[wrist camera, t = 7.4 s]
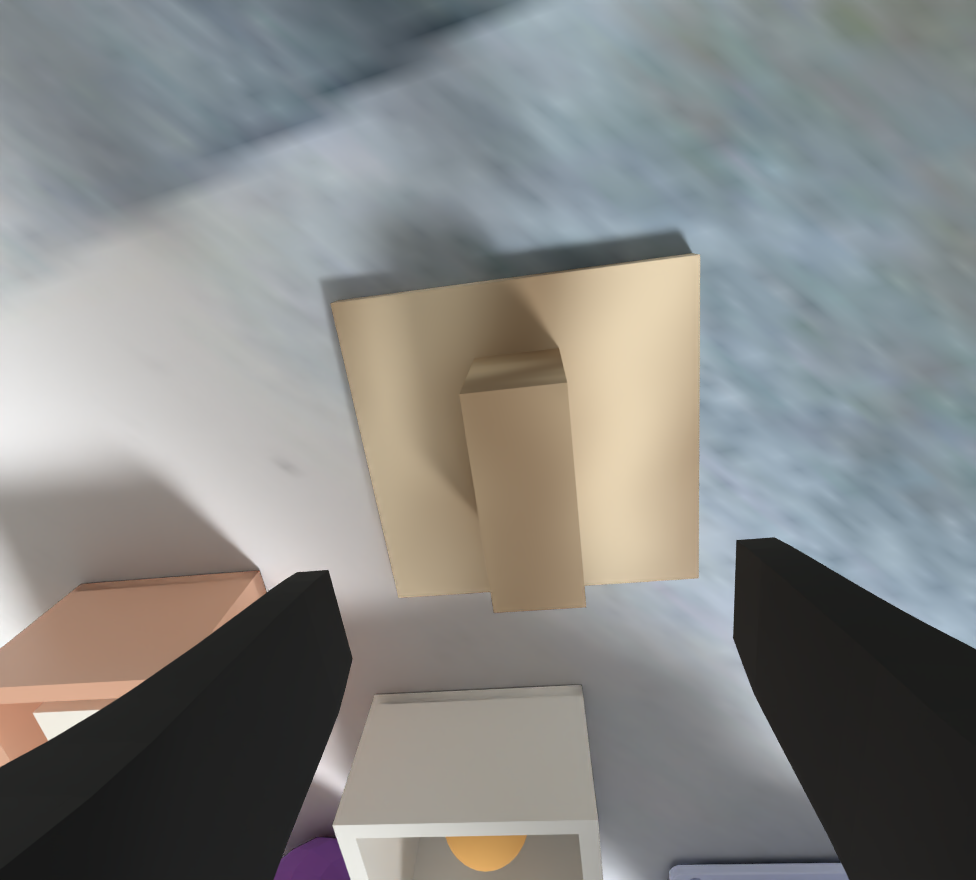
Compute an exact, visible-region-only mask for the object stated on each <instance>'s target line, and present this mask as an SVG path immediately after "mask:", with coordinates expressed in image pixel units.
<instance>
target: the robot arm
mask: <svg viewBox="0 0 976 880" xmlns="http://www.w3.org/2000/svg"><path fill="white" fill-rule="evenodd" d="M733 639H734V642H735V644H736V647H737V650H738V653H739V655H740V658H741V661H742V664H743V667H744V669H745V672H746V674H747V677H748V679H749V682H750V685H751V687H752V690H753V692H754V695H755V697H756V699H757V701H758V703H759V705H760V707H761V709H762V711H763V713H764V715H765V716H766V718H767V720H768V722H769V724H770V726H771V728H772V730H773V732H774V734H775V736H776V738H777V740H778V742H779V743H780V745H781V747H782V749H783V751H784V753H785V755H786V757H787V759H788V761H789V762H790V764H791V766H792V768H793V770H794V772H795V774H796V776H797V778H798V780H799V781H800V783H801V785H802V787H803V789H804V791H805V793H806V795H807V797H808V799H809V800H810V802H811V804H812V806H813V808H814V810H815V812H816V814H817V816H818V818H819V820H820V821H821V823H822V825H823V827H824V829H825V831H826V833H827V835H828V837H829V839H830V841H831V843H832V845H833V847H834V849H835V851H836V853H837V855H838V857H839V859H840V861H841V863H787V864H709V865H676V866H674V867H672V868H671V869H670V871H669V880H976V649H974V648H973V647H971V646H969V645H967V644H965V643H963V642H961V641H959V640H957V639H955V638H953V637H951V636H949V635H947V634H945V633H943V632H941V631H940V630H938V629H936V628H934V627H932V626H930V625H928V624H926V623H924V622H922V621H921V620H919V619H917V618H915V617H913V616H911V615H910V614H908V613H906V612H904V611H902V610H900V609H899V608H897V607H895V606H893V605H891V604H890V603H888V602H886V601H884V600H883V599H881V598H879V597H877V596H876V595H874V594H872V593H870V592H869V591H867V590H865V589H863V588H862V587H860V586H858V585H856V584H855V583H853V582H851V581H850V580H848V579H846V578H845V577H843V576H841V575H839V574H838V573H836V572H834V571H833V570H831V569H829V568H828V567H826V566H824V565H823V564H821V563H819V562H817V561H816V560H814V559H812V558H811V557H809V556H807V555H806V554H804V553H802V552H800V551H799V550H797V549H795V548H793V547H792V546H790V545H788V544H786V543H784V542H782V541H780V540H778V539H777V538H760V539H746V540H736V570H735V599H734V629H733ZM351 663H352V655H351V651H350V648H349V644H348V640H347V637H346V633H345V629H344V626H343V622H342V618H341V615H340V611H339V607H338V604H337V600H336V596H335V593H334V589H333V585H332V581H331V578H330V574H329V570H322V571H309V572H297V573H295V574H293V575H292V576H290V577H289V578H287V579H285V580H284V581H282V582H281V583H280V584H278V585H277V586H275V587H274V588H272V589H271V590H270V591H268V592H267V593H265V594H264V595H263V596H261V597H260V598H259V599H257V600H256V601H255V602H253V603H252V604H251V605H249V606H248V607H247V608H245V609H244V610H243V611H241V612H240V613H239V614H237V615H236V616H235V617H233V618H232V619H230V620H229V621H228V622H226V623H225V624H224V625H222V626H221V627H220V628H218V629H217V630H216V631H214V632H213V633H212V634H210V635H209V636H208V637H206V638H205V639H203V640H202V641H201V642H199V643H198V644H197V645H195V646H194V647H192V648H191V649H190V650H188V651H187V652H185V653H184V654H182V655H181V656H179V657H178V658H177V659H175V660H174V661H172V662H171V663H169V664H168V665H166V666H165V667H164V668H162V669H161V670H159V671H158V672H156V673H155V674H154V675H152V676H151V677H149V678H148V679H146V680H145V681H143V682H142V683H141V684H139V685H138V686H136V687H135V688H133V689H132V690H130V691H129V692H127V693H126V694H124V695H122V696H121V697H119V698H118V699H116V700H115V701H113V702H112V703H110V704H108V705H107V706H105V707H104V708H102V709H100V710H99V711H97V712H96V713H94V714H92V715H91V716H89V717H87V718H86V719H84V720H82V721H81V722H79V723H77V724H76V725H74V726H72V727H71V728H69V729H67V730H66V731H64V732H62V733H61V734H59V735H57V736H56V737H54V738H52V739H50V740H49V741H47V742H45V743H43V744H42V745H40V746H38V747H36V748H34V749H32V750H31V751H29V752H27V753H25V754H23V755H21V756H19V757H18V758H16V759H14V760H12V761H10V762H8V763H6V764H5V765H3V766H1V767H0V880H274V877H275V875H276V872H277V869H278V866H279V864H280V861H281V858H282V855H283V852H284V850H285V847H286V844H287V842H288V839H289V837H290V834H291V832H292V829H293V827H294V824H295V822H296V819H297V817H298V814H299V812H300V809H301V807H302V804H303V802H304V799H305V797H306V794H307V792H308V789H309V787H310V784H311V782H312V780H313V777H314V775H315V772H316V770H317V767H318V765H319V762H320V760H321V757H322V755H323V752H324V749H325V747H326V744H327V742H328V739H329V737H330V734H331V732H332V729H333V726H334V724H335V721H336V718H337V716H338V713H339V710H340V706H341V702H342V699H343V695H344V691H345V688H346V684H347V679H348V675H349V671H350V667H351Z"/></svg>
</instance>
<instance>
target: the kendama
mask: <svg viewBox="0 0 976 880" xmlns="http://www.w3.org/2000/svg"><path fill="white" fill-rule="evenodd" d="M274 880H351V879H350V876H349V873H348V870H347V867H346V864H345V861H344V858H343V855H342V852H341V849H340V846H339V844H338V841H337V838H325V837H317V838H315V839H313V840H311V841H309V842H307V843H305V844H303V845H301V846H299V847H297V848H295V849H293V850H292V851H291V852H289V853H288V854H287V855H286V856H284V857H283V858H282V859H281V861H280V864H279V866H278V869H277V872H276V875H275V877H274Z"/></svg>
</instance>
